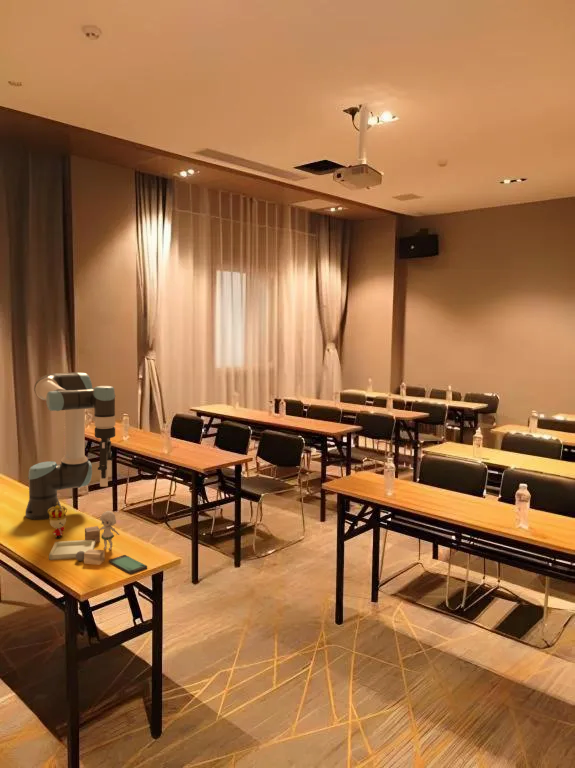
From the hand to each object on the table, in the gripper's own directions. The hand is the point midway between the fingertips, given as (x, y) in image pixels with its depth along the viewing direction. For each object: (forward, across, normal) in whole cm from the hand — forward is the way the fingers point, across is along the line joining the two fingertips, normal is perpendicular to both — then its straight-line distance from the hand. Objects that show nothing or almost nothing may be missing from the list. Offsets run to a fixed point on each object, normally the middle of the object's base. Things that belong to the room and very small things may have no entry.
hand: (105, 481), depth 219 cm
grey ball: (+27, +10, -8) cm, 30 cm away
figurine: (+27, 0, +1) cm, 27 cm away
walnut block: (+27, -9, -6) cm, 29 cm away
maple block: (+27, +12, -3) cm, 30 cm away
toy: (+27, -15, -20) cm, 37 cm away
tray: (+27, +1, -12) cm, 30 cm away
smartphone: (+28, +16, +9) cm, 33 cm away
